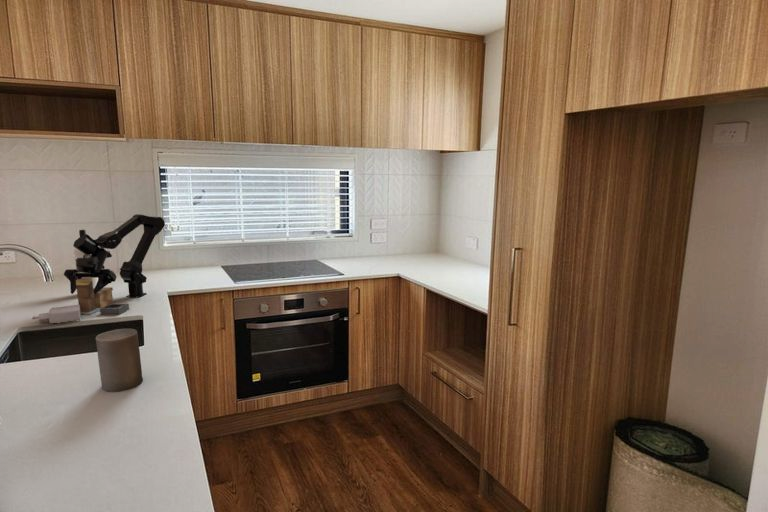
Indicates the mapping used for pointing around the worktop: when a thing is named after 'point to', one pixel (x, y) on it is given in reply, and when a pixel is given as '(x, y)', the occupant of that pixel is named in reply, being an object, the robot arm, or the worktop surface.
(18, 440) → the worktop surface
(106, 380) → the pillar candle
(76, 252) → the vodka
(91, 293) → the brown rectangular block
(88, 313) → the rubber mat
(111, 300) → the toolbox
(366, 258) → the worktop surface
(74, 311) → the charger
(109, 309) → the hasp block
